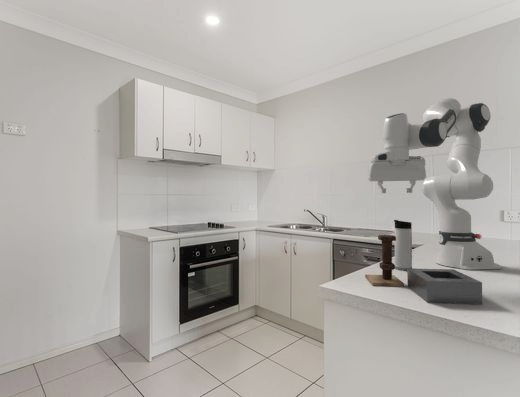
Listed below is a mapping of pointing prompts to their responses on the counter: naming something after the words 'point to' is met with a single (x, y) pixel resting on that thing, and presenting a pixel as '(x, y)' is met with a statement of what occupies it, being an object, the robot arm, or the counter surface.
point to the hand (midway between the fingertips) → (396, 193)
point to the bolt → (387, 256)
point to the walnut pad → (383, 281)
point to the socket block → (444, 286)
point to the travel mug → (403, 245)
